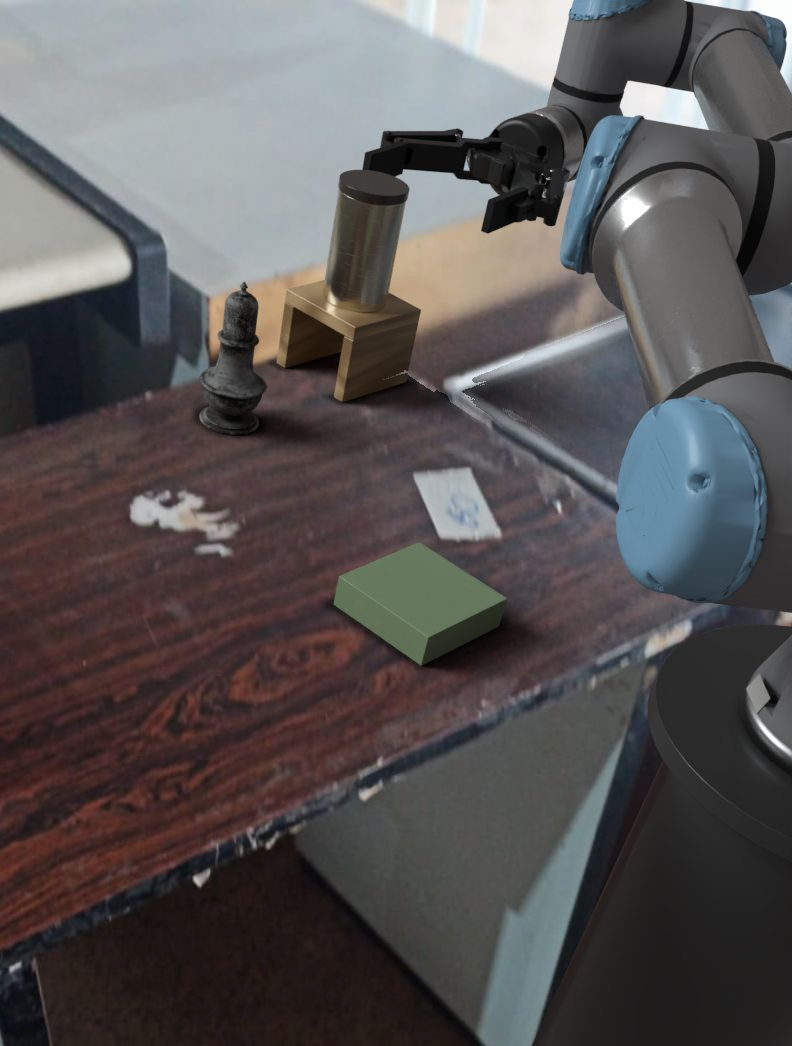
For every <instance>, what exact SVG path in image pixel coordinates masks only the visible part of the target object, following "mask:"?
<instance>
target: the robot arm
mask: <svg viewBox="0 0 792 1046" xmlns="http://www.w3.org/2000/svg"><path fill="white" fill-rule="evenodd" d="M787 36H788V32H787V26H786V24H785V23H784V22H783V20H781V19H779V18H776V17H774V16H773V17H772V16H769V15H766V14H762V13H760V12H759V11H757V10H742V9H735V8H731V7H724V6H719V5H712V4H707V3H701V2H700V3H699V2H694V1H689V0H573V1H572V5H571V7H570V9H569V10H568V20H567V25H566V28H565V33H564V36H563V41H562V45H561V50H560V54H559V58H558V62H557V66H556V70H555V74H554V77H553V81H552V83H551V87H550V91H549V94H548V99H547V102H546V106H545V107H541V108H538V109H536V110H532V111H528V112H525V113H522V114H519V115H515V116H513V117H510V118H508V119H504V120H503V121H501V122H500V123H499V124H498V125H497V126H496V127H495V128H494V129H493V130H492V131H491V132H490V134H489V135H488V136H486V137H484V138H470V137H463V136H464V130H463V129H460V128H458V127H457V128H450V129H445V130H384V131H382V136H381V140H380V146H379V147H378V148H374V149H373V150H368V151H365V152H364V157H363V163H362V169H361V170H370V171H377V172H381V173H385V174H388V175H391V176H394V177H396V178H397V176H400V175H403V173H404V171H405V170H406V171H416V172H417V171H419V172H432V173H445V174H452V175H454V177H455V178H456V179H457V180H463V181H464V180H465V181H477V182H478V183H479V184H482V185H489V186H490V187H491V189H492V190H493V191H494V192H495V193H496V194H497V196H494V197H492V198H488V199H487V202H486V203H487V204H486V207H485V211H484V217H483V220H482V223H481V224H482V225H481V229H480V232H483V233H485V234H491V233H493V232H495V231H498V230H500V229H503V228H505V227H507V226H509V225H512V224H515V223H517V224H518V223H522V222H525V221H527V222H536V221H537V218H540V219H542V223H543V224H544V225H545V226H547V227H555V226H556V224H557V222H558V217H559V214H560V211H561V206H562V202H563V199H564V195H565V193H566V188H567V186H568V185H567V184H568V183H570V182H573V181H575V182H574V186H573V189H572V192H571V193H572V194H571V196H570V201H569V205H568V209H567V212H566V216H565V222H564V226H563V230H562V235H561V242H560V249H559V261H560V263H561V265H562V266H563V268H565V269H566V270H568V271H569V270H570V271H573V272H576V273H577V274H578V275H581V276H583V275H585V274H593V275H594V279H595V282H596V284H597V286H598V288H599V289H600V292H601V294H603V296H604V297H605V298H606V300H607V301H608V302H609V303H610V304H611V305H613V306H614V307H615V308H617V309H618V310H620V311H622V312H624V317H625V321H626V325H627V329H628V333H629V336H630V341H631V345H632V348H633V352H634V356H635V360H636V364H637V368H638V372H639V376H640V380H641V384H642V387H643V391H644V396H645V399H646V403H647V407H648V411H647V412H646V413H645V414H644V415H643V417H642V418H641V419H640V420H639V422H638V424H637V425H636V427H635V428H634V430H633V431H632V434H631V436H630V438H629V440H628V443H627V446H626V448H625V451H624V454H623V458H622V460H621V465H620V468H619V473H618V479H617V484H616V485H617V486H616V496H615V502H616V504H618V510H617V513H616V516H615V533H616V539H617V545H618V549H619V552H620V556H621V559H622V561H623V563H624V565H625V567H626V569H627V571H628V573H629V574H630V575H631V577H632V578H633V579H634V580H635V581H636V582H637V583H638V584H639V585H641V586H642V587H644V588H646V590H647V589H648V590H650V591H651V592H655V593H658V594H659V593H660V594H664V595H669V596H675V597H676V598H679V599H681V600H684V601H687V602H690V603H696V604H706V603H707V604H714V605H723V606H729V607H737V608H738V607H740V608H748V609H755V610H763V611H764V610H765V611H771V612H773V611H774V612H781V613H790V614H792V369H791V368H790V367H788V366H787V365H784V364H781V363H778V362H777V361H775V359H774V356H773V355H772V352H771V349H770V346H769V344H768V341H767V339H766V336H765V333H764V330H763V328H762V325H761V323H760V320H759V318H758V317H759V316H758V315H757V312H756V310H755V307H754V304H753V302H752V300H751V297H750V296H758V295H759V296H760V295H765V294H767V293H770V292H771V293H772V292H773V291H776V290H780V289H782V288H784V287H787V286H789V285H790V284H792V92H791V89H790V87H789V86H788V84H787V82H786V80H785V78H784V76H783V75H782V72H781V71H782V68H783V66H784V65H783V64H784V61H785V58H786V52H787V45H788V42H787ZM628 82H633V83H640V84H647V85H652V86H657V87H662V88H666V89H672V90H679V91H683V92H688V93H689V92H690V93H693V95H694V97H695V99H696V101H697V103H698V106H699V109H700V111H701V113H702V116H703V118H704V121H705V123H706V126H707V128H708V129H707V128H706V129H705V128H699V127H694V126H688V125H681V124H675V123H671V122H665V121H658V120H653V119H646V118H645V117H644V115H641V114H637V115H634V116H625V115H624V113H623V111H622V110H623V109H621V103H622V100H623V98H624V94H625V90H626V87H627V85H628ZM466 163H467V167H468V169H467V170H466V169H465V166H466ZM740 717H741V720H742V723H743V726H744V728H745V730H746V732H747V734H748V735H749V737H750V738H751V740H752V741H753V743H754V744H755V745H756V746H757V747H758V749H759V750H760V751H761V752H762V753H763V754H764V755H765V756H766V757H767V758H768V759H769V760H771V761H772V762H773V763H774V764H775V765H777V766H778V767H779V768H780V769H782V770H783V771H785V772H786V773H788V774H789V775H791V776H792V635H791V636H790V637H789V638H788V639H787V640H786V641H785V642H784V643H783V644H782V645H781V646H780V647H779V648H778V649H777V650H776V651H775V652H774V653H773V654H772V655H771V656H770V657H768V658H767V659H766V660H765V661H764V662H763V663H762V664H761V665H760V666H759V667H758V668H757V669H756V670H755V672H754V673H753V675H752V677H751V679H750V681H749V683H748V685H747V687H746V689H745V691H744V693H743V695H742V697H741V701H740Z"/></svg>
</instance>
